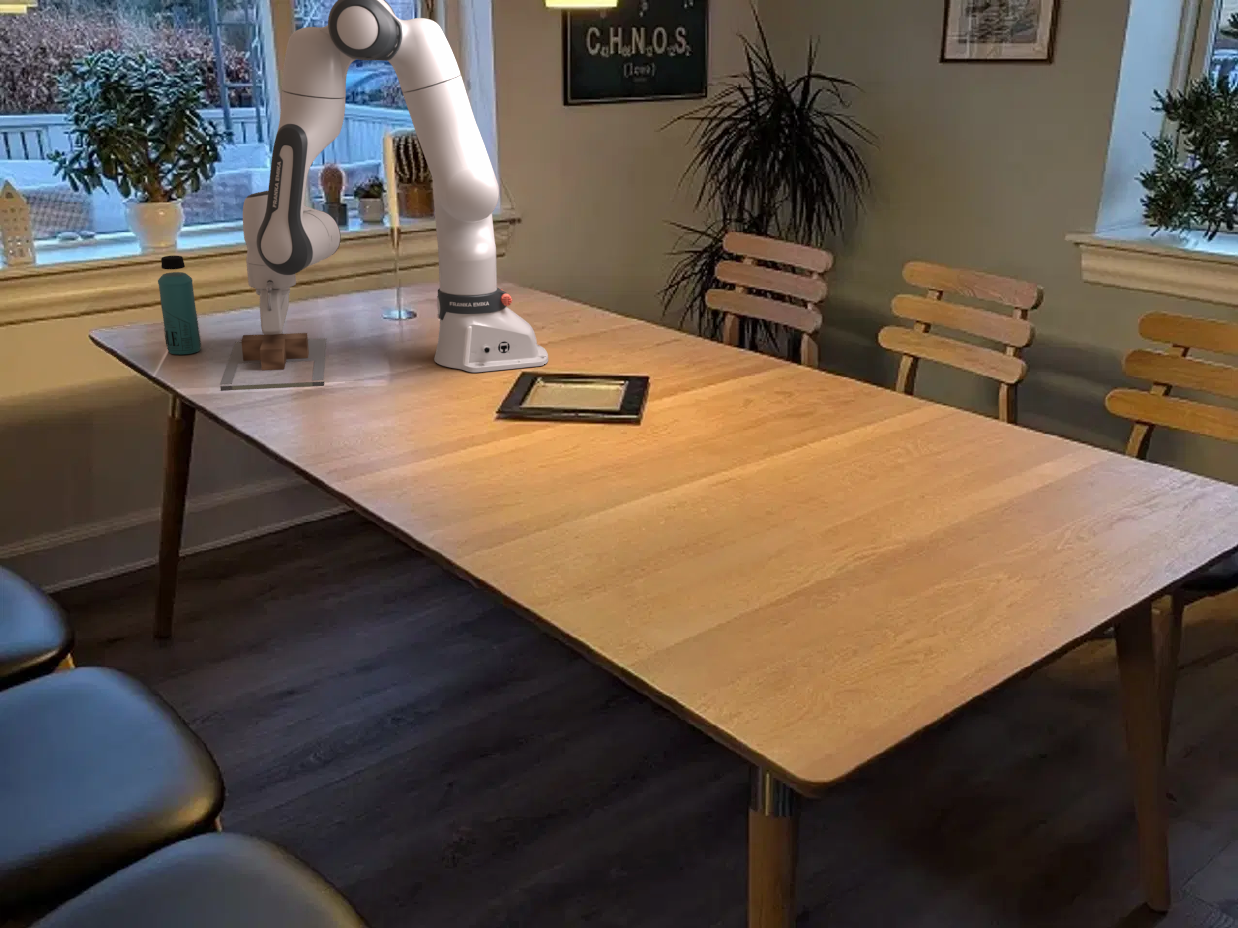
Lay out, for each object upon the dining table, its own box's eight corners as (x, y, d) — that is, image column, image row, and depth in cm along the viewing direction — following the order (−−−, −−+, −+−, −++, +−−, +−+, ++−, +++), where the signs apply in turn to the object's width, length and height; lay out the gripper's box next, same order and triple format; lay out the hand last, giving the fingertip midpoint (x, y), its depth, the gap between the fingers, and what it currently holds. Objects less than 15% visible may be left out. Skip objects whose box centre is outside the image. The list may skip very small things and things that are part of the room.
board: (327, 344, 230) (326, 338, 230) (324, 385, 204) (323, 379, 203) (235, 347, 226) (235, 341, 226) (220, 390, 200) (220, 384, 200)
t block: (309, 352, 220) (307, 332, 218) (306, 368, 210) (304, 348, 208) (245, 355, 217) (243, 335, 216) (239, 371, 207) (237, 350, 206)
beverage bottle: (208, 353, 222) (196, 253, 214) (193, 363, 216) (180, 260, 208) (177, 352, 222) (164, 252, 215) (161, 361, 216) (147, 258, 209)
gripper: (285, 287, 206) (291, 359, 211) (291, 265, 224) (297, 331, 230) (249, 288, 205) (256, 360, 210) (259, 265, 223) (265, 332, 228)
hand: (277, 345), depth 220 cm, fingers closed
